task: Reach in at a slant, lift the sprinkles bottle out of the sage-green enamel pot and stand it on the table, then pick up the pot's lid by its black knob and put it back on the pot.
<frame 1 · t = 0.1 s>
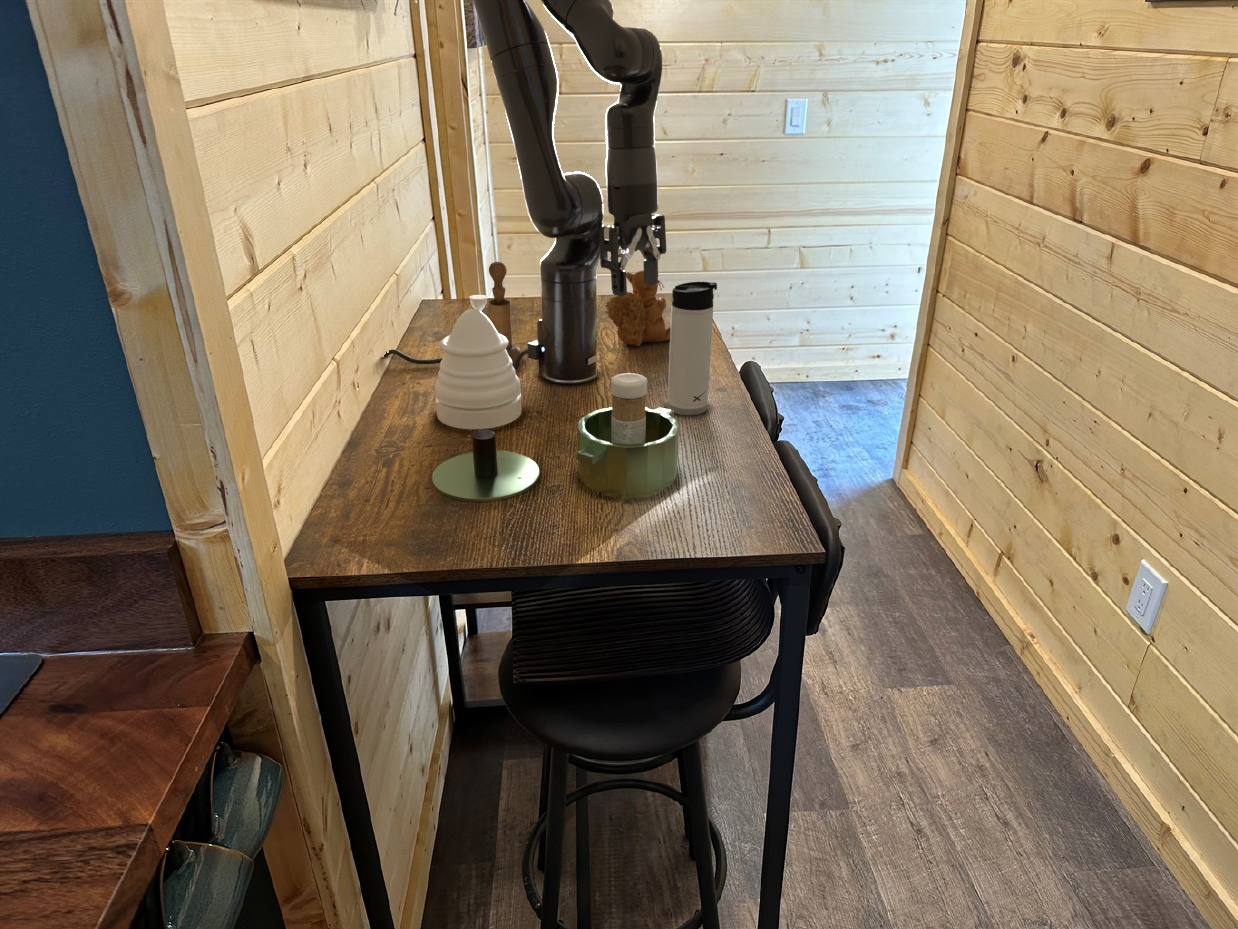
hand: (635, 289, 128), 17 cm above the table, tool pointing down, fingers open, 8 cm apart
stuffed squirrel: (639, 340, 162), on the table
lid: (486, 476, 107), point 1 cm above the table
mortar and pestle: (502, 363, 149), on the table
travel mug: (688, 409, 131), on the table
sprinkles bottle: (627, 475, 109), resting on pot
pot: (627, 476, 109), on the table
honey pot: (479, 416, 127), on the table
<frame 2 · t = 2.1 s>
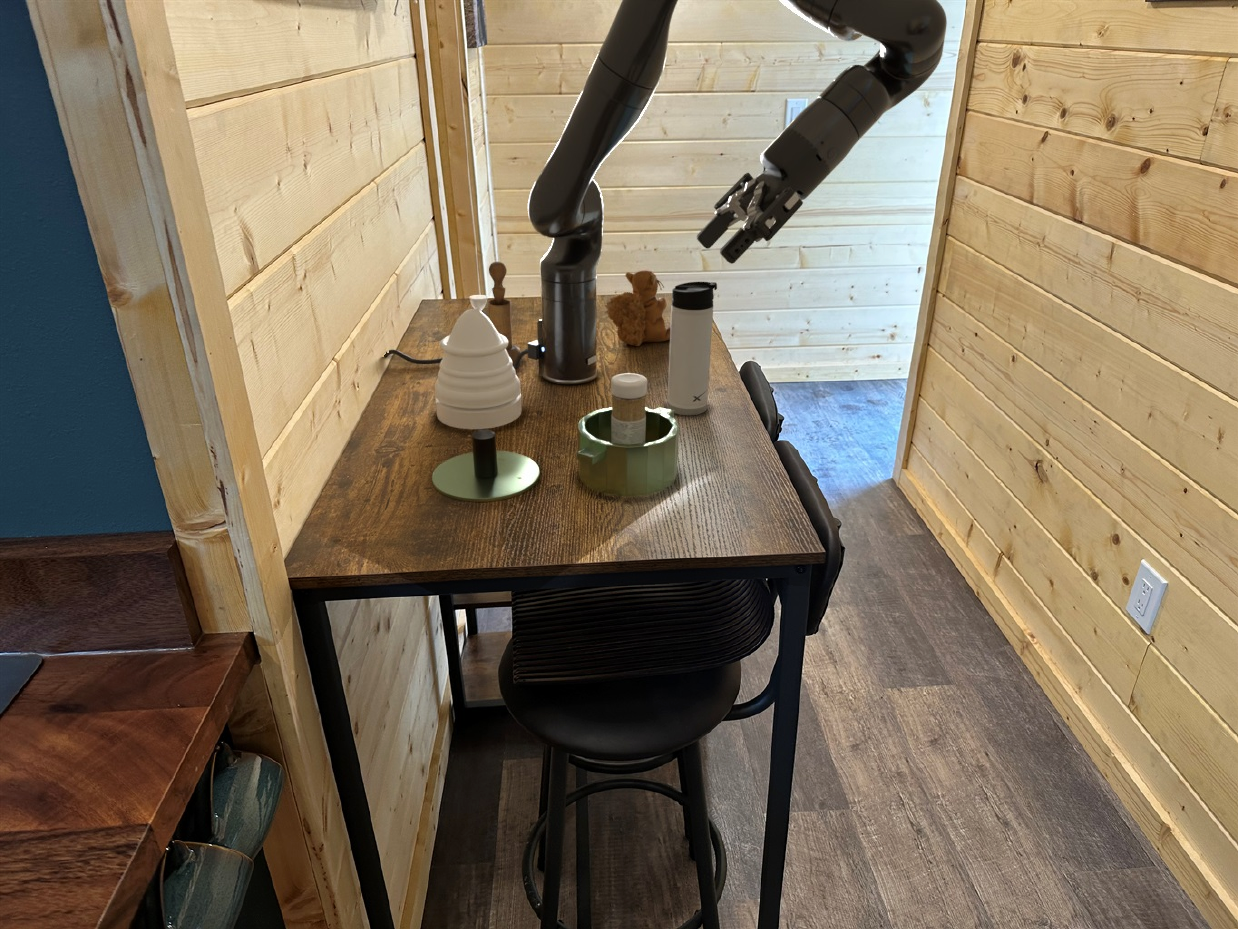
hand: (712, 250, 101), 29 cm above the table, tool tilted 45°, fingers open, 8 cm apart
nothing on the table moved.
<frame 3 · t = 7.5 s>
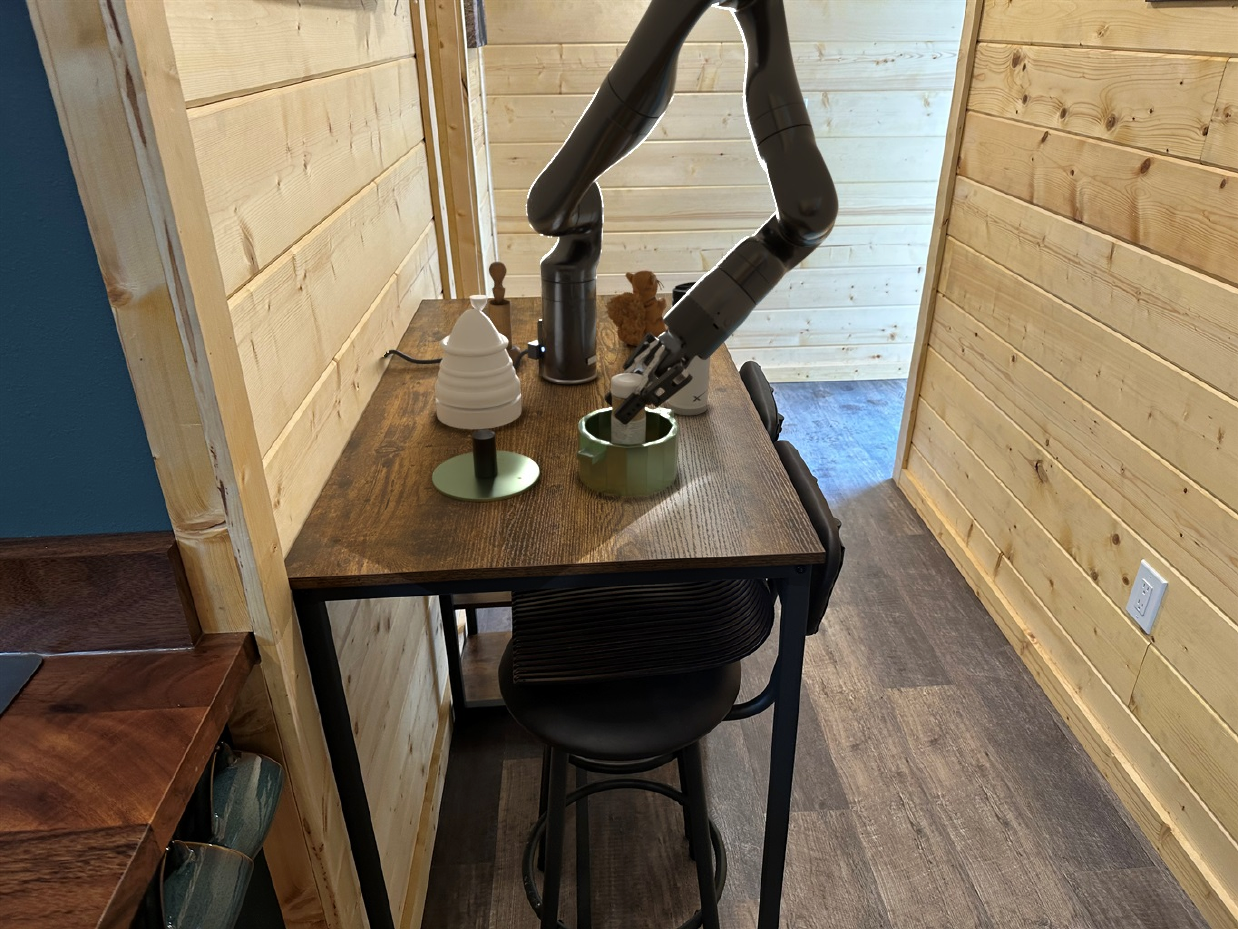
hand: (614, 411, 105), 10 cm above the table, tool tilted 45°, fingers closed on sprinkles bottle, 4 cm apart
sprinkles bottle: (627, 475, 109), resting on pot, touching gripper
everything else where it was.
when the fingers open (9 cm above the table, at t = 15.4 s): sprinkles bottle stays where it is, on the table.
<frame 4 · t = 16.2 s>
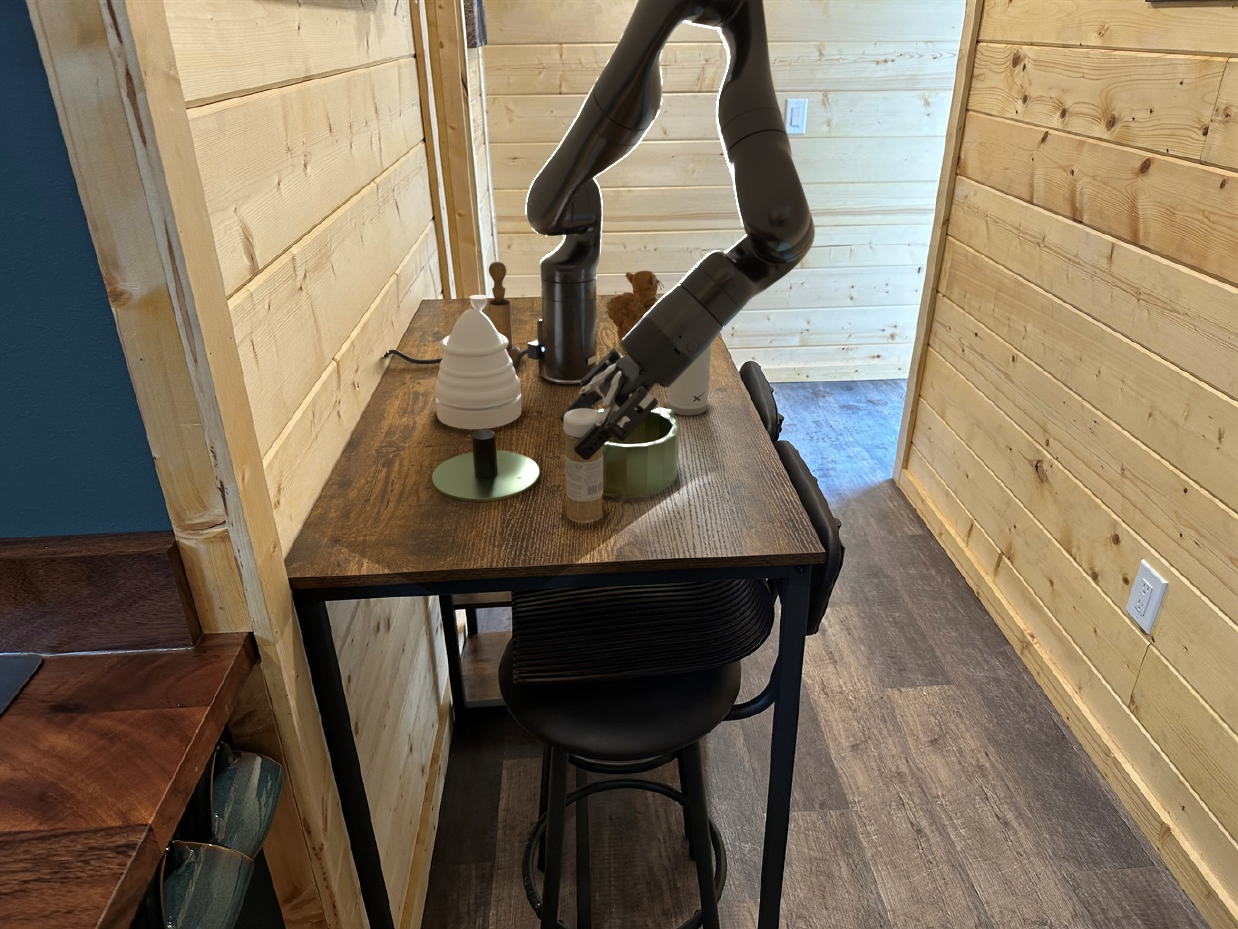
hand: (571, 438, 94), 11 cm above the table, tool tilted 45°, fingers open, 8 cm apart
sprinkles bottle: (584, 518, 100), on the table
everything else where it was.
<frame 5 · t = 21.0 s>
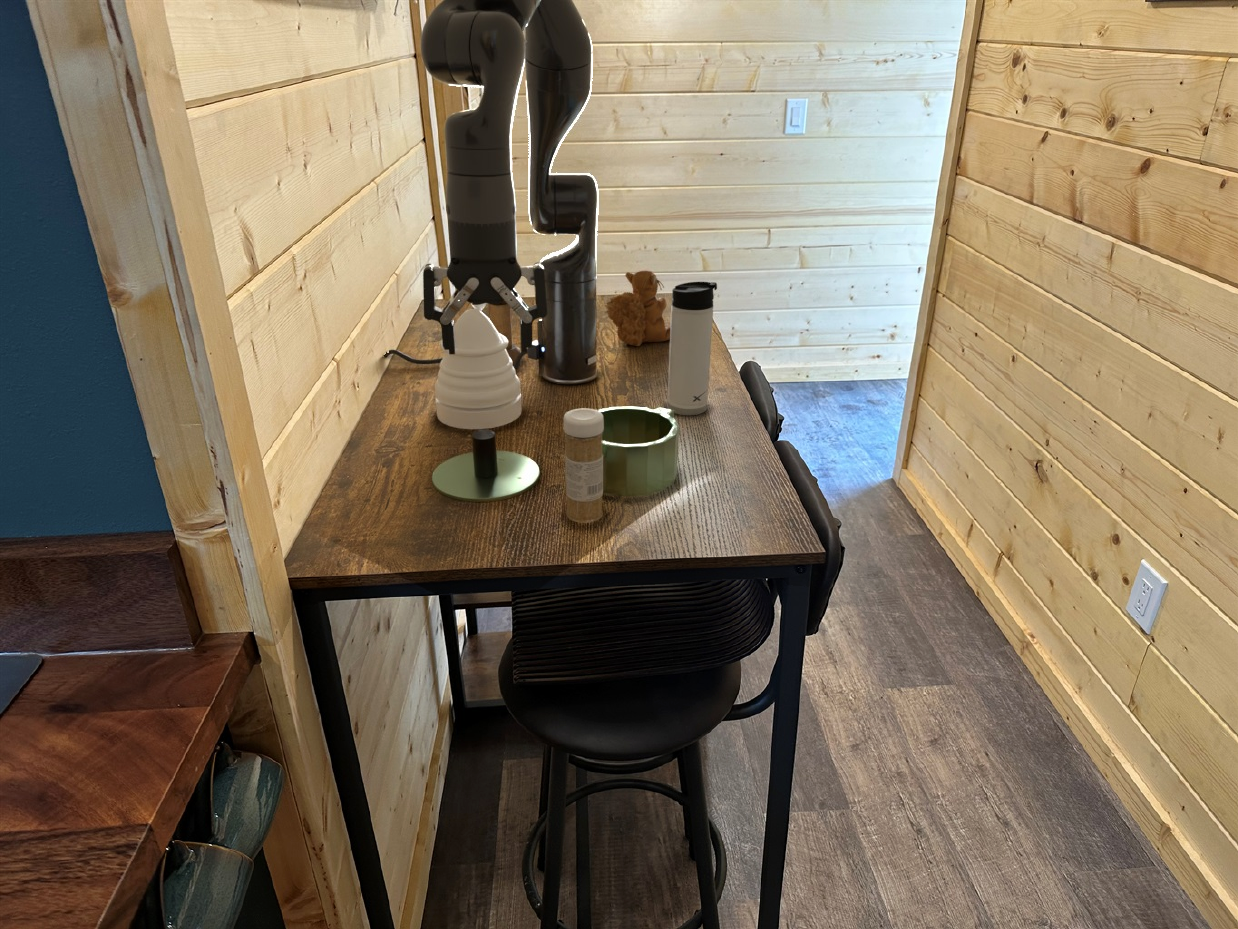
hand: (488, 351, 100), 18 cm above the table, tool pointing down, fingers open, 8 cm apart
nothing on the table moved.
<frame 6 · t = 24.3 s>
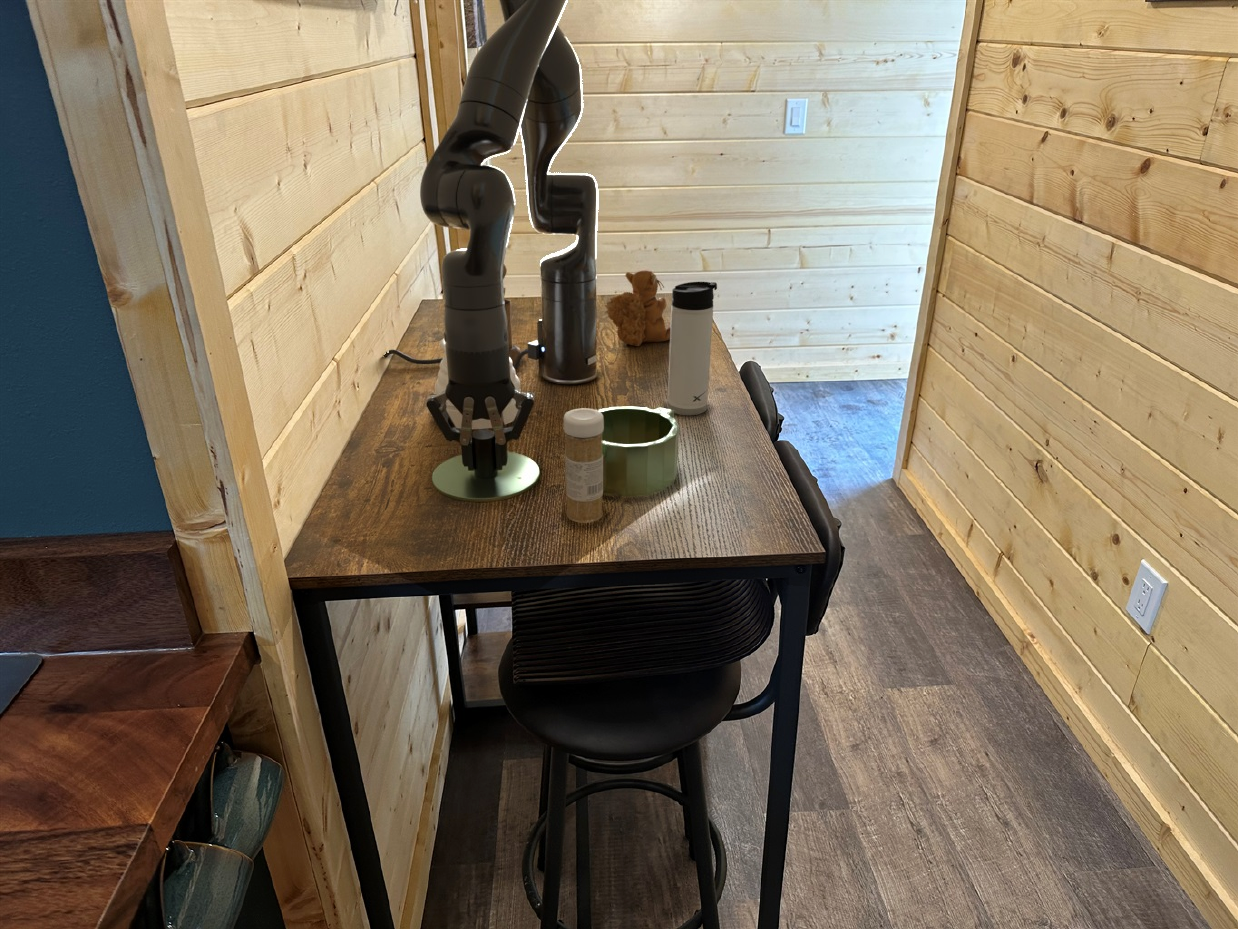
hand: (485, 467, 107), 2 cm above the table, tool pointing down, fingers closed on lid, 3 cm apart
lid: (486, 476, 107), point 1 cm above the table, touching gripper
everything else where it was.
when the fingers open (9 cm above the table, at t = 30.4 s): lid stays where it is, resting on pot.
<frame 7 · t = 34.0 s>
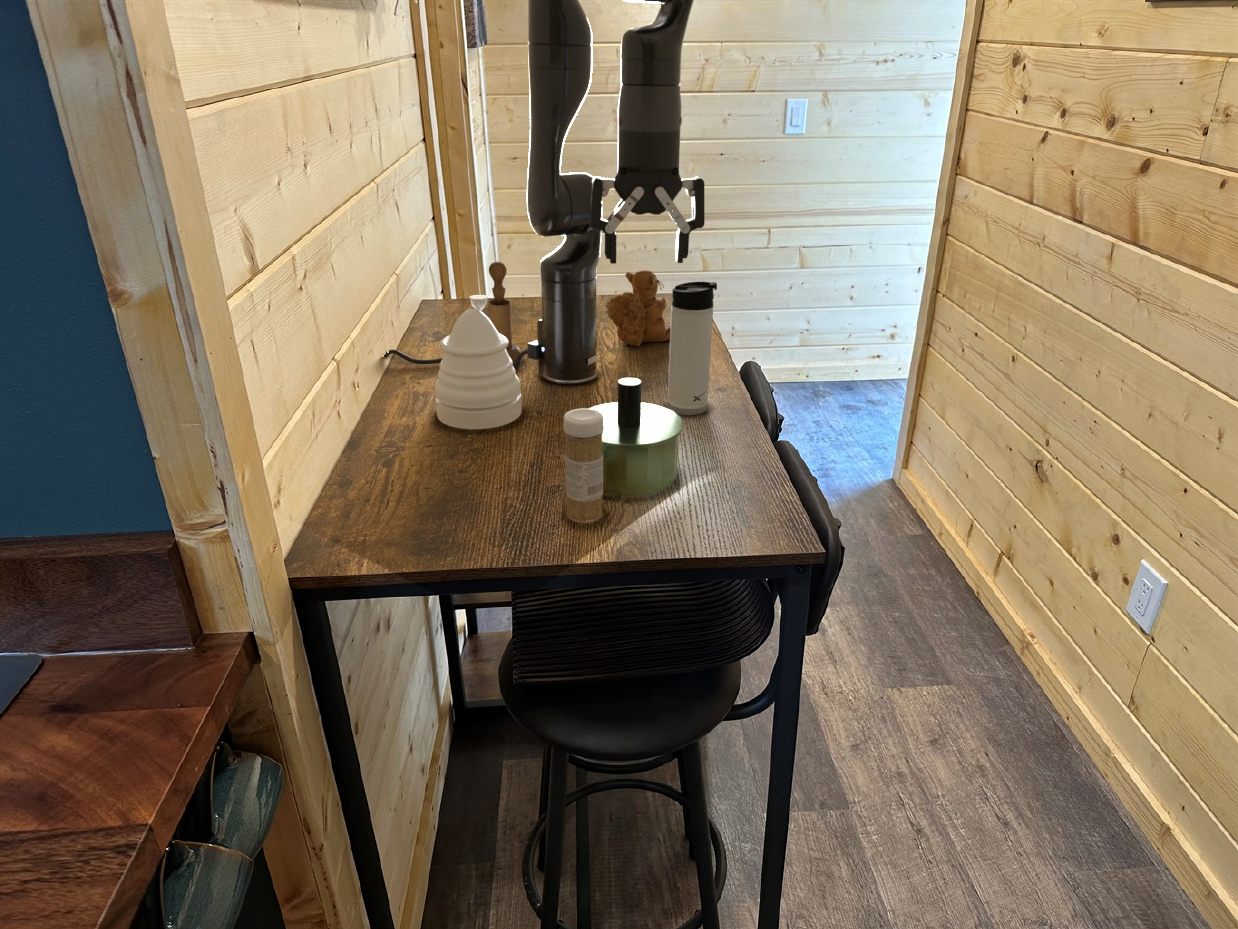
hand: (645, 262, 106), 26 cm above the table, tool pointing down, fingers open, 8 cm apart
lid: (628, 425, 106), point 7 cm above the table, touching pot
everything else where it was.
at the end: sprinkles bottle inside the target area (0.1 cm from its centre), on the table; sprinkles bottle tilted 0°; lid 0.1 cm off-centre on the pot, point 7.4 cm above the pot's base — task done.
